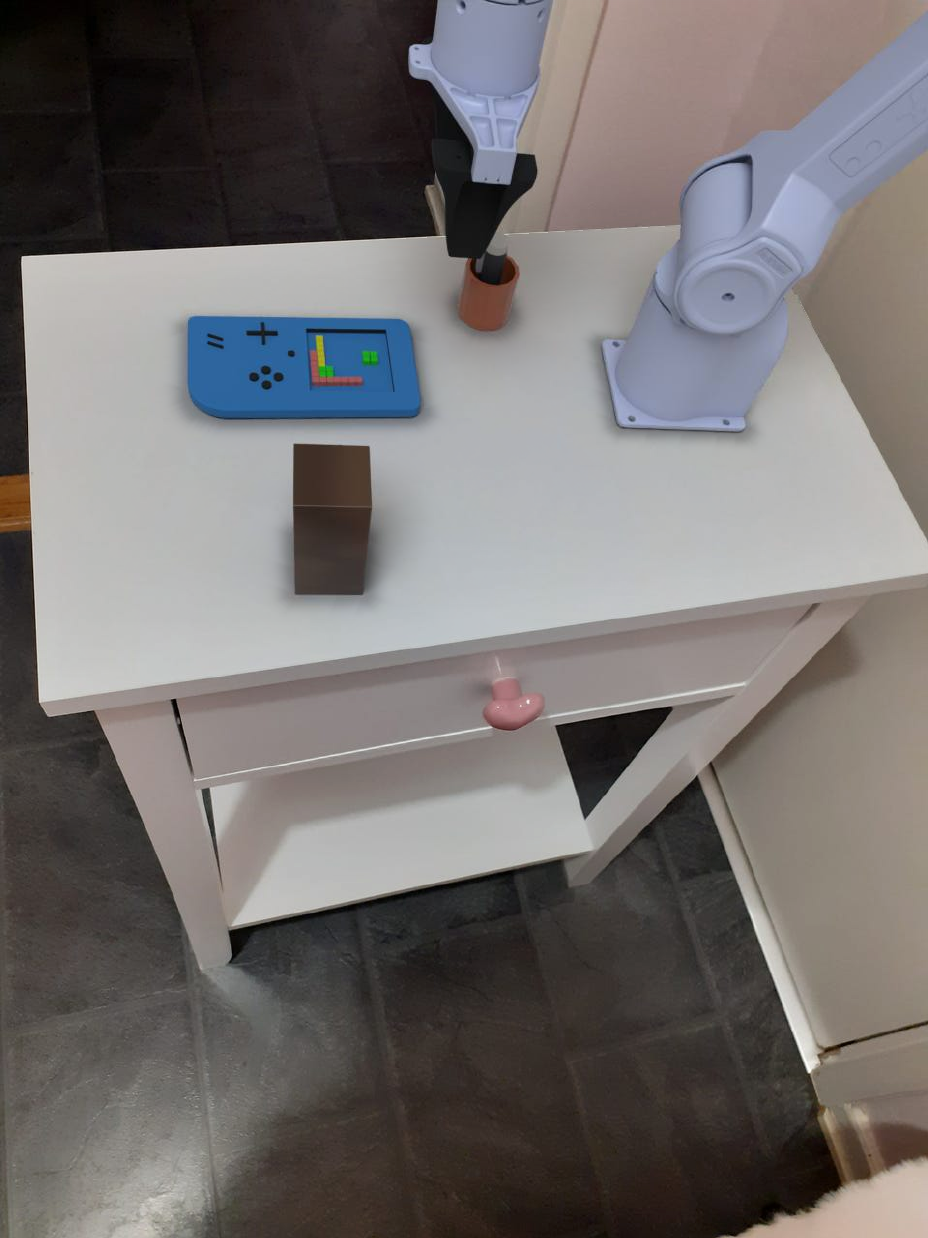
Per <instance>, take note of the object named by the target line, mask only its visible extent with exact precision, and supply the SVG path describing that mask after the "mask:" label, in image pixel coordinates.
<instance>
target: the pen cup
mask: <svg viewBox="0 0 928 1238" xmlns="http://www.w3.org/2000/svg"><path fill="white" fill-rule="evenodd" d="M476 261H477V259H471V258H466V261H465V264H464V269H463V275H462V280H461V285H460V290H459V296H458V302H457V314H458V316H459V317H460V320H461V321H462V322H463V323H464V324H466V325H467V326H468V327H470V328H472V329H474V330H478V331H482V332H493V331H497V330H500V329H501V328H503V327H504V326H505V325H506V324H507V322H508V321H509V317H510V314H511V311H512V307H513V304H514V303H513V302H514V300H515V295H516V291H517V288H518V283H519V280H520V275H521V272H520V267H519V265H518V264H517V262H516V261H515V259H513V258H512V257H511V256H510V255H508V254H506V259H505V263H504V267H503V272H502V276H501V280H500V285H490V284H487V283H484V282H481V281H480V280H479V279H478V275H479V272H476V268H475V266H476Z"/></svg>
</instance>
